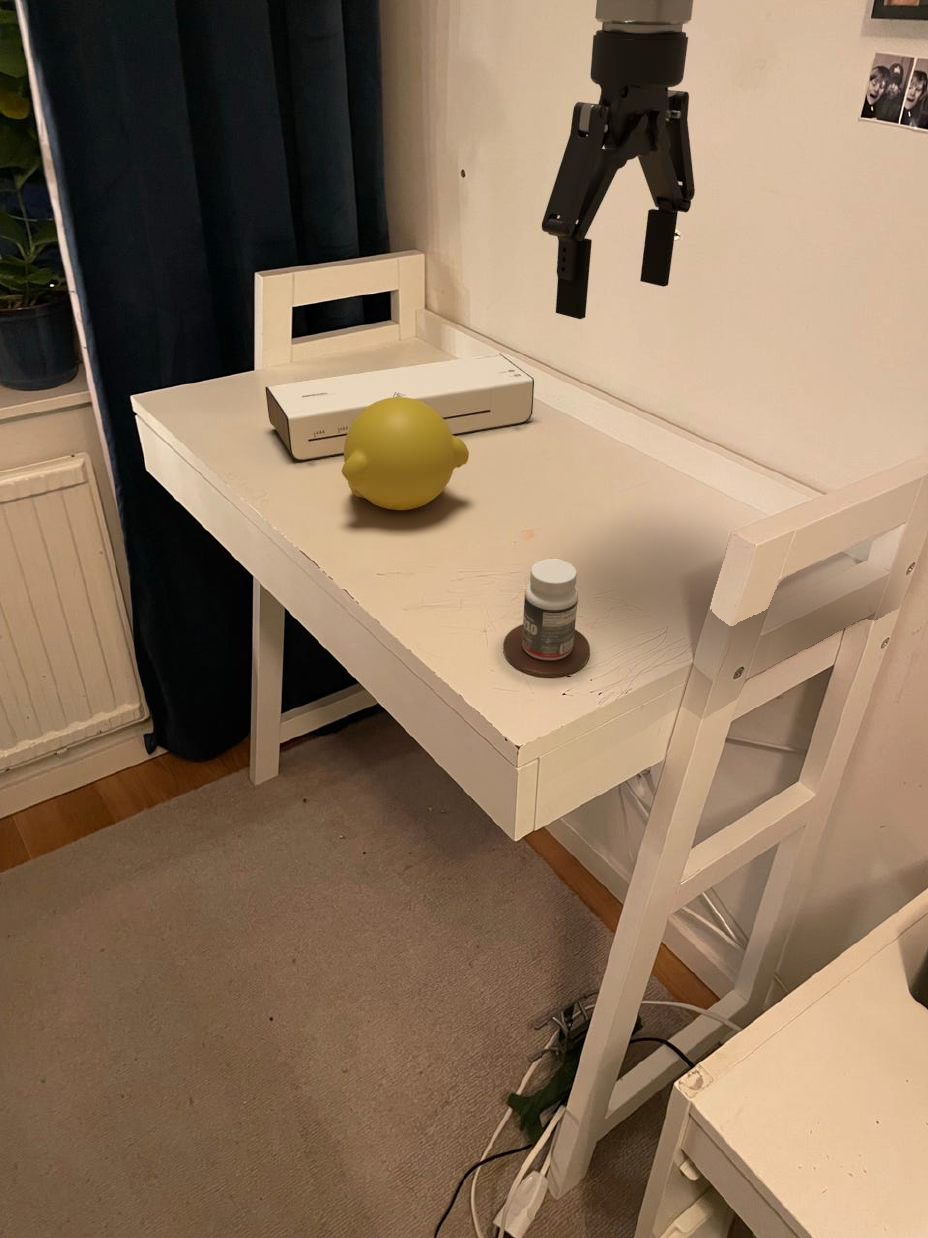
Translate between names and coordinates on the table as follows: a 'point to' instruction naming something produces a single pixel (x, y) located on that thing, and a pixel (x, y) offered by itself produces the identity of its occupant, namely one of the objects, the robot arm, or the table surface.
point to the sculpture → (400, 454)
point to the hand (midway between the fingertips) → (614, 298)
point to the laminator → (452, 388)
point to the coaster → (545, 667)
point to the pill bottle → (550, 610)
